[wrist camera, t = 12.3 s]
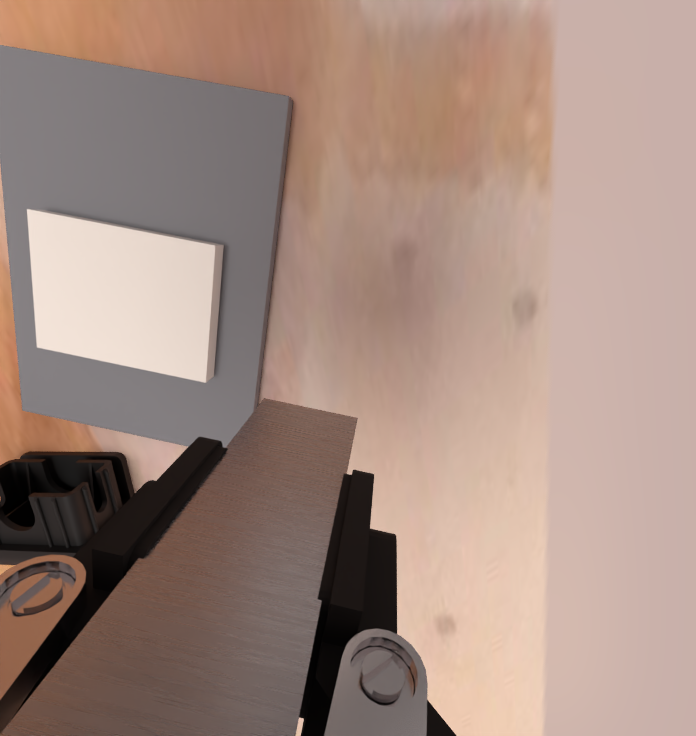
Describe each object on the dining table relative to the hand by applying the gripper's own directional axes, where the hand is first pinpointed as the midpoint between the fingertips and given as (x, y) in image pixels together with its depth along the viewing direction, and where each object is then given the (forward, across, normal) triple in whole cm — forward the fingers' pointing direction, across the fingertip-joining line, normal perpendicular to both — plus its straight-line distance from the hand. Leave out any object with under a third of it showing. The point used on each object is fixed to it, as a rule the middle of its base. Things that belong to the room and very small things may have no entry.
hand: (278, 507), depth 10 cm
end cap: (+20, +20, +18) cm, 33 cm away
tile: (+17, +15, -4) cm, 23 cm away
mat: (+19, +15, -1) cm, 24 cm away
